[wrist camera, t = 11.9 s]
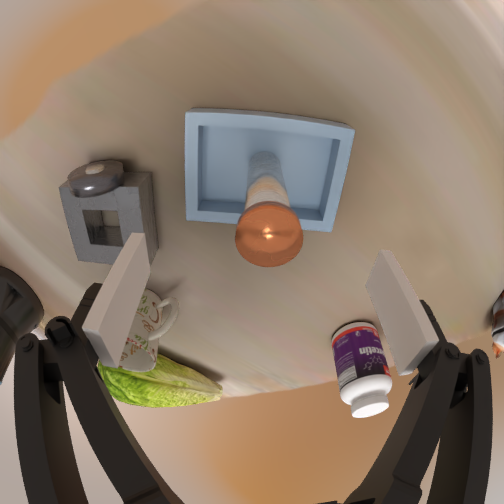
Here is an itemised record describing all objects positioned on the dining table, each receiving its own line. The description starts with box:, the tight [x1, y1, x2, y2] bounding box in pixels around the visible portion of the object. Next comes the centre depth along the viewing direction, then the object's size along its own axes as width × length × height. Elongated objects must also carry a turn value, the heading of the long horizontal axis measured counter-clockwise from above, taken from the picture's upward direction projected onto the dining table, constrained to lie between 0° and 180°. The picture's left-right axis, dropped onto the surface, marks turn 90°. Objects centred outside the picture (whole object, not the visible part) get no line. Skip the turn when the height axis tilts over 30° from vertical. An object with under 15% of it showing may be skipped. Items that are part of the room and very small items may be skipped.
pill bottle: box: [332, 322, 392, 418], centre depth 39 cm, size 8×8×14 cm
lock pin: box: [235, 151, 303, 267], centre depth 22 cm, size 4×4×13 cm
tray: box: [185, 108, 355, 232], centre depth 27 cm, size 15×11×3 cm
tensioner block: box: [59, 160, 158, 265], centre depth 28 cm, size 10×12×6 cm
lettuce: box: [98, 353, 222, 407], centre depth 47 cm, size 12×24×13 cm
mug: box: [118, 289, 179, 372], centre depth 36 cm, size 8×13×10 cm, turn 123°
